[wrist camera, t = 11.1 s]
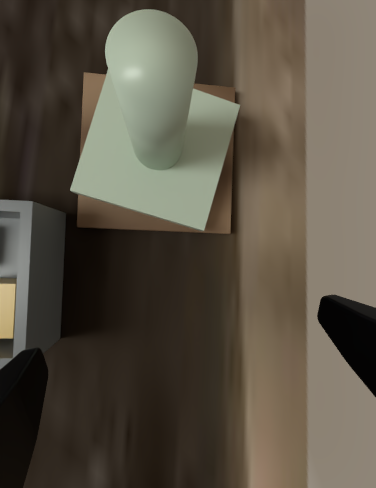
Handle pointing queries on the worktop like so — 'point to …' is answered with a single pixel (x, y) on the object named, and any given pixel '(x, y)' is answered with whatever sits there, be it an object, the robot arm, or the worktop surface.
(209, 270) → the worktop surface
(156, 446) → the worktop surface
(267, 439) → the worktop surface
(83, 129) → the walnut board
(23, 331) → the storage box
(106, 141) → the lid
